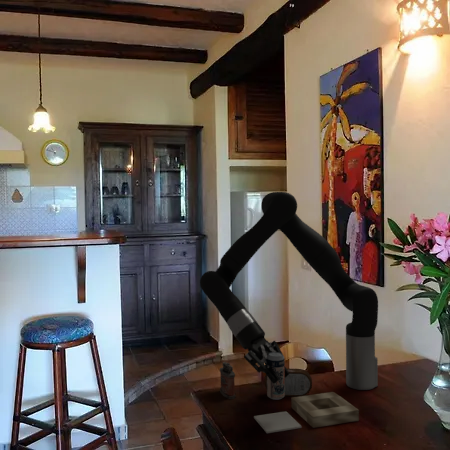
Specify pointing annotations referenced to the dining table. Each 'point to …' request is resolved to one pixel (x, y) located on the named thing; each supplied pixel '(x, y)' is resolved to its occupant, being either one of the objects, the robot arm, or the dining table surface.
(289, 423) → the pad
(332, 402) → the socket block
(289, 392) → the tin
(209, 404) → the dining table surface
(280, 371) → the beer can
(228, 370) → the lighter
